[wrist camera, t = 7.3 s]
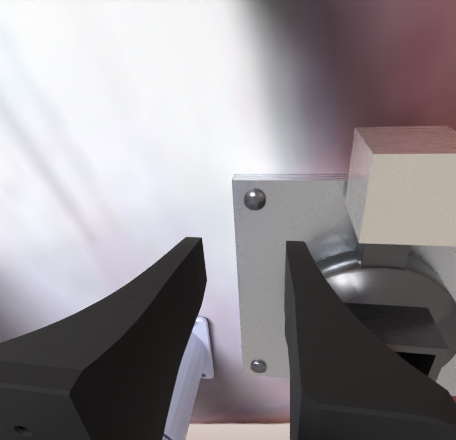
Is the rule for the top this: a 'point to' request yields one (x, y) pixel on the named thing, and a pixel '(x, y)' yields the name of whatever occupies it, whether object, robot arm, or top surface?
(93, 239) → the top surface
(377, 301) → the square socket hub
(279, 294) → the flange plate
